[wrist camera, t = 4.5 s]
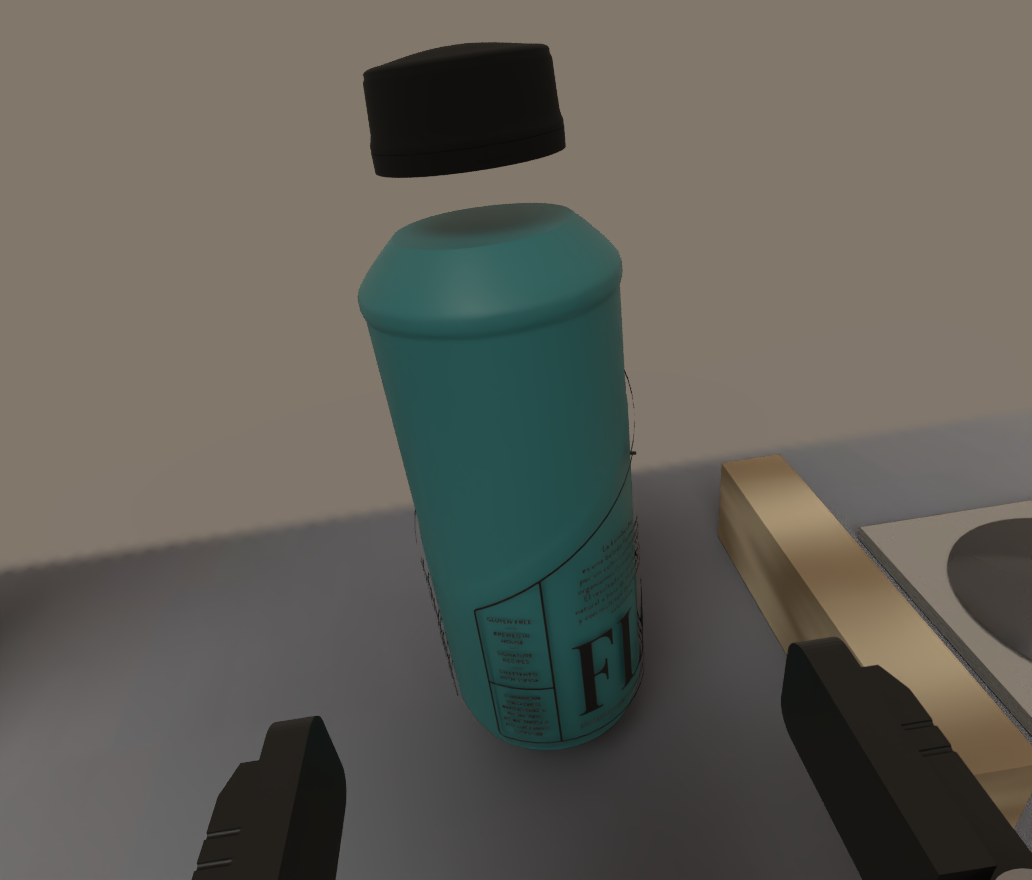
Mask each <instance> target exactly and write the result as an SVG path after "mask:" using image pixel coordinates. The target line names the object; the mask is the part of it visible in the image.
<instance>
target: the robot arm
mask: <svg viewBox="0 0 1032 880" xmlns="http://www.w3.org/2000/svg"><path fill="white" fill-rule="evenodd" d="M781 708H782V714H783V718H784V722H785V725H786V728H787V731H788V733H789V736H790V738H791V740H792V742H793V744H794V746H795V748H796V750H797V752H798V754H799V756H800V758H801V760H802V762H803V764H804V766H805V768H806V770H807V772H808V773H809V775H810V777H811V779H812V781H813V783H814V785H815V787H816V789H817V791H818V793H819V795H820V797H821V799H822V801H823V803H824V805H825V807H826V809H827V811H828V813H829V815H830V817H831V819H832V821H833V823H834V825H835V827H836V829H837V831H838V833H839V834H840V836H841V838H842V840H843V842H844V844H845V846H846V848H847V850H848V852H849V854H850V856H851V858H852V860H853V862H854V864H855V866H856V868H857V870H858V872H859V874H860V876H861V878H862V880H1032V853H1031V851H1030V850H1029V849H1028V848H1027V846H1026V845H1025V844H1024V842H1023V841H1022V840H1021V838H1020V837H1019V836H1018V834H1017V833H1016V831H1015V830H1014V829H1013V827H1012V826H1011V825H1010V823H1009V822H1008V821H1007V819H1006V818H1005V817H1004V815H1003V814H1002V813H1001V811H1000V810H999V809H998V807H997V806H996V804H995V803H994V802H993V800H992V799H991V798H990V796H989V795H988V794H987V792H986V791H985V790H984V788H983V787H982V786H981V784H980V783H979V781H978V780H977V779H976V777H975V776H974V775H973V773H972V772H971V771H970V769H969V768H968V767H967V765H966V764H965V763H964V761H963V760H962V759H961V757H960V756H959V754H958V753H957V752H954V751H953V750H952V747H951V744H950V742H949V741H948V740H947V738H946V737H945V736H944V734H943V733H942V732H941V730H940V729H939V727H938V726H935V725H934V724H933V721H932V720H933V719H932V718H931V717H930V715H929V714H928V713H927V711H926V710H925V709H924V707H923V706H922V704H921V703H920V702H919V700H918V699H917V698H916V696H915V695H914V694H913V692H912V691H911V690H910V689H909V688H908V687H907V686H906V685H904V684H903V683H902V682H900V681H899V680H898V679H896V678H895V677H894V676H893V675H891V674H890V673H889V672H887V671H886V670H885V669H883V668H882V667H881V666H879V665H872V666H866V667H861V666H860V664H859V663H858V662H857V660H856V659H855V657H854V656H853V654H852V653H851V651H850V650H849V648H848V647H847V646H846V644H845V643H844V642H843V641H842V640H841V639H839V638H838V637H827V638H821V639H814V640H808V641H802V642H795V643H791V644H790V645H789V647H788V652H787V660H786V667H785V674H784V681H783V688H782V695H781ZM345 807H346V780H345V773H344V769H343V766H342V764H341V761H340V759H339V757H338V754H337V752H336V750H335V747H334V745H333V743H332V741H331V738H330V736H329V734H328V731H327V729H326V727H325V724H324V722H323V720H322V719H321V717H320V716H312V717H306V718H299V719H293V720H287V721H280V722H275V723H273V724H272V725H271V726H270V727H269V729H268V731H267V734H266V738H265V741H264V745H263V748H262V752H261V756H260V759H259V760H258V761H251V762H245V763H240V765H239V766H238V768H237V769H236V771H235V772H234V774H233V775H232V777H231V778H230V780H229V781H228V782H227V784H226V785H225V787H224V788H223V790H222V791H221V793H220V794H219V796H218V798H217V801H216V804H215V808H214V811H213V814H212V817H211V820H210V823H209V827H208V830H207V839H206V840H204V842H203V845H202V849H201V852H200V855H199V858H198V861H197V870H196V871H194V874H193V877H192V880H335V879H336V872H337V865H338V858H339V851H340V843H341V836H342V829H343V822H344V815H345Z"/></svg>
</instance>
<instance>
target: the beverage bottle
mask: <svg viewBox="0 0 1032 880" xmlns="http://www.w3.org/2000/svg"><path fill="white" fill-rule="evenodd" d="M363 76H364V82H363V87H364V93H365V100H366V107H367V113H368V120H369V127H370V134H371V143H370V148H371V155H372V159H373V164H374V168H375V173H376V175H378V176H382V177H392V178H408V177H409V178H411V177H428V176H438V175H449V174H457V173H465V172H472V171H479V170H485V169H491V168H497V167H502V166H507V165H513V164H517V163H522V162H527V161H531V160H535V159H539V158H542V157H545V156H549V155H552V154H554V153H557V152H559V151H561V150H563V149H564V148H565V132H564V123H563V117H562V115H561V112H560V109H559V103H558V96H557V90H556V82H555V75H554V68H553V61H552V56H551V55H550V52H549V47H548V46H547V45H544V44H522V43H497V42H493V43H490V42H489V43H465V44H458V45H451V46H445V47H440V48H435V49H430V50H426V51H423V52H419V53H416V54H412V55H409V56H406V57H403V58H401V59H398V60H395V61H392V62H389V63H386V64H384V65H381V66H377V67H374V68H371V69H369V70H367V71H366V72H364V74H363ZM621 277H622V261H621V258H620V255H619V252H618V250H617V249H616V248H615V247H614V245H613V244H612V243H611V242H610V241H609V240H608V239H607V238H606V237H605V236H604V235H602V234H601V233H600V232H599V231H598V230H597V229H595V228H594V227H593V226H592V225H591V224H589V223H588V222H587V221H586V220H585V219H583V218H582V217H581V216H579V215H578V214H576V213H575V212H573V211H572V210H571V209H569V208H567V207H564V206H560V205H555V204H545V203H517V204H502V205H492V206H483V207H475V208H469V209H463V210H457V211H452V212H448V213H443V214H439V215H435V216H431V217H428V218H425V219H422V220H419V221H416V222H414V223H411V224H409V225H407V226H405V227H403V228H401V229H400V230H398V231H397V232H396V233H395V234H394V235H393V236H392V238H391V239H390V240H389V242H388V243H387V244H386V246H385V247H384V249H383V250H382V252H381V253H380V254H379V256H378V258H377V259H376V260H375V262H374V263H373V265H372V266H371V268H370V269H369V271H368V272H367V274H366V276H365V278H364V280H363V282H362V284H361V286H360V288H359V292H358V303H359V307H360V311H361V313H362V315H363V317H364V318H365V320H366V322H367V325H368V329H369V333H370V337H371V341H372V345H373V348H374V352H375V356H376V360H377V364H378V368H379V372H380V375H381V379H382V383H383V387H384V391H385V395H386V398H387V402H388V406H389V410H390V414H391V417H392V421H393V425H394V429H395V433H396V436H397V441H398V444H399V448H400V452H401V456H402V460H403V463H404V467H405V471H406V475H407V479H408V483H409V486H410V490H411V494H412V498H413V502H414V506H415V513H417V517H418V521H419V527H420V534H421V539H422V544H423V548H424V552H425V556H426V560H427V563H428V567H429V571H430V575H431V579H432V583H433V587H434V591H435V594H436V598H437V602H438V606H439V611H440V614H441V618H440V621H441V620H442V622H443V625H444V629H445V633H446V637H447V644H448V645H449V649H450V652H451V656H452V663H453V664H454V668H455V672H456V676H457V680H458V683H459V687H460V691H461V693H462V696H463V699H464V701H465V703H466V705H467V706H468V708H469V710H470V711H471V712H472V713H473V715H474V716H475V717H476V718H477V719H478V721H479V722H480V723H481V724H482V725H483V726H484V727H485V728H486V729H487V730H488V731H489V732H491V733H492V734H494V735H495V736H496V737H498V738H500V739H502V740H504V741H506V742H508V743H511V744H513V745H516V746H519V747H523V748H528V749H535V750H557V749H565V748H569V747H574V746H577V745H580V744H583V743H586V742H588V741H590V740H592V739H594V738H596V737H598V736H600V735H601V734H603V733H604V732H606V731H607V730H608V729H610V728H611V727H612V726H613V725H614V724H615V723H616V722H617V721H618V720H619V719H620V718H621V716H622V715H623V714H624V712H625V710H626V709H627V707H628V706H629V704H630V703H631V701H632V700H633V698H634V697H635V695H636V693H637V691H638V689H639V687H638V689H637V691H636V693H635V695H634V696H633V694H634V691H635V689H636V685H637V682H638V677H640V675H641V670H640V674H639V669H640V660H641V657H642V654H641V651H640V653H639V640H638V634H639V633H638V626H639V624H638V618H637V614H638V612H637V596H636V573H635V564H636V559H635V556H636V557H638V556H639V555H638V556H637V554H638V553H637V554H636V551H637V550H636V551H635V549H634V548H635V547H634V542H635V544H636V542H637V541H636V539H635V541H634V529H633V527H635V525H636V524H635V523H636V522H637V521H635V523H634V526H633V507H632V485H631V461H630V455H635V454H636V452H632V450H631V452H630V441H629V420H628V403H627V395H626V386H625V374H626V372H625V370H624V355H623V338H622V337H623V335H622V318H621V299H620V282H621ZM626 377H627V375H626ZM627 379H628V377H627ZM628 381H629V380H628ZM629 386H630V385H629ZM630 390H631V388H630ZM631 393H632V391H631ZM632 446H633V444H632ZM631 449H632V448H631ZM631 459H632V457H631ZM636 519H637V518H636ZM637 528H638V524H637ZM636 532H637V529H636ZM415 534H416V532H415ZM637 534H638V533H637ZM636 538H637V540H638V535H637V536H636ZM416 542H417V540H416ZM638 545H639V542H638ZM639 549H640V547H639ZM639 549H638V550H639ZM421 558H422V557H421ZM637 559H638V558H637ZM421 560H422V559H421ZM639 560H640V556H639ZM423 561H424V560H423ZM421 562H422V561H421ZM423 563H424V562H423ZM422 565H424V564H422ZM638 566H639V563H638V565H637V567H638ZM423 568H424V566H423ZM637 569H638V568H636V572H637ZM423 570H425V569H423ZM425 573H426V572H425ZM428 575H429V572H428ZM427 578H428V583H429V576H428V577H427V576H426V581H427ZM640 582H641V580H640ZM429 586H430V583H429ZM429 586H428V587H429ZM430 590H432V589H431V587H430ZM429 593H430V592H429ZM431 594H432V591H431ZM430 597H431V598H432V597H433V595H432V596H430ZM431 600H432V599H431ZM434 600H435V599H433V601H434ZM432 604H433V603H432ZM434 609H436V607H435V603H434ZM434 611H435V610H434ZM436 613H437V611H436ZM437 617H438V626H439V625H440V623H441V622H439V613H438V614H437ZM638 617H639V615H638ZM639 619H640V622H641V625H642V630H643V615H642V588H641V617H640V618H639ZM436 620H437V619H436ZM639 627H640V626H639ZM440 629H441V625H440ZM440 629H439V630H440ZM639 630H640V632H641V629H639ZM442 631H443V629H442V630H441V631H440V633H441V632H442ZM442 633H443V634H442V636H443V635H444V631H443V632H442ZM440 635H441V634H440ZM641 635H642V641H641V642H642V653H643V651H644V650H643V645H644V644H643V642H644V641H643V632H641ZM639 637H640V636H639ZM441 638H442V637H441ZM442 640H443V645H445V642H444V640H445V639H444V638H442ZM640 640H641V638H640ZM445 648H446V646H445V647H444V649H445ZM446 652H447V649H446ZM445 654H446V653H445ZM447 656H448V653H447ZM447 656H446V657H447ZM449 656H450V655H449ZM449 658H450V657H448V659H449ZM643 658H644V656H643ZM449 660H450V659H449ZM449 664H450V661H449ZM449 664H448V665H449ZM449 667H451V665H449ZM642 667H643V663H642ZM451 671H452V669H451ZM643 672H644V670H643ZM451 674H452V675H453V673H451ZM642 677H643V675H642ZM453 679H454V677H453ZM641 680H642V679H641ZM454 683H455V681H454ZM454 683H453V684H454ZM640 684H641V682H640ZM639 686H640V685H639ZM455 687H456V685H455ZM456 690H457V689H456ZM456 693H457V692H456ZM457 695H458V693H457ZM632 697H633V698H632ZM631 699H632V700H631Z"/></svg>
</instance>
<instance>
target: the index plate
mask: <svg viewBox="0 0 1032 880" xmlns="http://www.w3.org/2000/svg"><path fill="white" fill-rule="evenodd" d="M858 538H859V540H860V541H861V542H862V543H863V544H864V545H865V546H866V547H867V549H868V550H869V551H870V552H871V553H872V554H873V555H874V557H875V558H876V559H877V560H878V561H879V562H880V563H881V565H882V566H883V567H884V568H885V569H886V570H887V571H888V573H889V574H890V575H891V576H892V577H893V578H894V579H895V581H896V582H897V583H898V584H899V585H900V586H901V587H902V589H903V590H904V591H905V592H906V593H907V594H908V595H909V597H910V598H911V599H912V600H913V601H914V602H915V603H916V605H917V606H918V607H919V608H920V609H921V610H922V611H923V613H924V614H925V615H926V616H927V617H928V618H929V619H930V621H931V622H932V623H933V624H934V625H935V626H936V627H937V628H938V630H939V631H940V632H941V633H942V634H943V635H944V636H945V638H946V639H947V640H948V641H949V642H950V643H951V644H952V646H953V647H954V648H955V649H956V650H957V651H958V652H959V654H960V655H961V656H962V657H963V658H964V659H965V660H966V662H967V663H968V664H969V665H970V666H971V667H972V668H973V670H974V671H975V672H976V673H977V674H978V675H979V676H980V678H981V679H982V680H983V681H984V682H985V683H986V684H987V686H988V687H989V688H990V689H991V690H992V691H993V692H994V694H995V695H996V696H997V697H998V698H999V699H1000V700H1001V702H1002V703H1003V704H1004V705H1005V706H1006V707H1007V708H1008V709H1009V711H1010V712H1011V713H1012V714H1013V715H1014V716H1015V717H1016V719H1017V720H1018V721H1019V722H1020V723H1021V724H1022V725H1023V727H1024V728H1025V729H1026V730H1027V731H1028V732H1029V733H1030V735H1031V736H1032V500H1030V501H1024V502H1018V503H1011V504H1005V505H999V506H992V507H986V508H980V509H973V510H967V511H961V512H954V513H948V514H942V515H935V516H929V517H922V518H916V519H910V520H903V521H897V522H891V523H884V524H878V525H872V526H865V527H860V532H859V537H858Z"/></svg>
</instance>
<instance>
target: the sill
mask: <svg viewBox="0 0 1032 880" xmlns="http://www.w3.org/2000/svg"><path fill="white" fill-rule="evenodd" d="M718 537H719V539H720V541H721V542H722V544H723V546H724V547H725V549H726V551H727V553H728V554H729V556H730V558H731V560H732V561H733V563H734V565H735V566H736V568H737V570H738V572H739V573H740V575H741V577H742V579H743V580H744V582H745V584H746V585H747V587H748V589H749V591H750V592H751V594H752V596H753V597H754V599H755V601H756V603H757V604H758V606H759V608H760V610H761V611H762V613H763V615H764V616H765V618H766V620H767V622H768V623H769V625H770V627H771V629H772V630H773V632H774V634H775V635H776V637H777V639H778V641H779V642H780V644H781V646H782V648H783V649H784V651H785V653H786V654H787V652H788V647H789V645H790V644H791V643H795V642H802V641H808V640H814V639H821V638H827V637H838V638H839V639H841V640H842V641H843V642H844V643H845V644H846V646H847V647H848V648H849V650H850V651H851V653H852V654H853V656H854V657H855V659H856V660H857V662H858V663H859V664H860V666H861V667H866V666H872V665H879V666H881V667H882V668H883V669H885V670H886V671H887V672H889V673H890V674H891V675H893V676H894V677H895V678H896V679H898V680H899V681H900V682H902V683H903V684H904V685H906V686H907V687H908V688H909V689H910V690H911V691H912V692H913V694H914V695H915V696H916V698H917V699H918V700H919V702H920V703H921V704H922V706H923V707H924V709H925V710H926V711H927V713H928V714H929V715H930V717H931V718H932V719H933V720H932V721H933V724H934V725H935V726H938V727H939V729H940V730H941V732H942V733H943V734H944V736H945V737H946V738H947V740H948V741H949V742H950V744H951V747H952V750H953V751H954V752H957V753H958V754H959V756H960V757H961V759H962V760H963V761H964V763H965V764H966V765H967V767H968V768H969V769H970V771H971V772H972V773H973V775H974V776H975V777H976V779H977V780H978V781H979V783H980V784H981V786H982V787H983V788H984V790H985V791H986V792H987V794H988V795H989V796H990V798H991V799H992V800H993V802H994V803H995V804H996V806H997V807H998V809H999V810H1000V811H1001V813H1002V814H1003V815H1004V817H1005V818H1006V819H1007V821H1008V822H1009V823H1010V825H1011V826H1012V827H1013V829H1014V828H1015V826H1016V824H1017V822H1018V820H1019V818H1020V816H1021V814H1022V812H1023V810H1024V808H1025V806H1026V804H1027V802H1028V800H1029V798H1030V796H1031V794H1032V745H1031V744H1030V743H1029V741H1028V740H1027V739H1026V738H1025V737H1024V736H1023V734H1022V733H1021V732H1020V731H1019V730H1018V729H1017V727H1016V726H1015V725H1014V724H1013V723H1012V722H1011V721H1010V719H1009V718H1008V717H1007V716H1006V715H1005V714H1004V712H1003V711H1002V710H1001V709H1000V708H999V707H998V706H997V704H996V703H995V702H994V701H993V700H992V699H991V697H990V696H989V695H988V694H987V693H986V692H985V690H984V689H983V688H982V687H981V686H980V685H979V684H978V682H977V681H976V680H975V679H974V678H973V677H972V675H971V674H970V673H969V672H968V671H967V670H966V669H965V667H964V666H963V665H962V664H961V663H960V662H959V660H958V659H957V658H956V657H955V656H954V655H953V653H952V652H951V651H950V650H949V649H948V648H947V647H946V645H945V644H944V643H943V642H942V641H941V640H940V638H939V637H938V636H937V635H936V634H935V633H934V632H933V630H932V629H931V628H930V627H929V626H928V625H927V623H926V622H925V621H924V620H923V619H922V618H921V616H920V615H919V614H918V613H917V612H916V611H915V610H914V608H913V607H912V606H911V605H910V604H909V603H908V601H907V600H906V599H905V598H904V597H903V596H902V595H901V593H900V592H899V591H898V590H897V589H896V588H895V586H894V585H893V584H892V583H891V582H890V581H889V579H888V578H887V577H886V576H885V575H884V574H883V573H882V571H881V570H880V569H879V568H878V567H877V566H876V564H875V563H874V562H873V561H872V560H871V559H870V558H869V556H868V555H867V554H866V553H865V552H864V551H863V549H862V548H861V547H860V546H859V545H858V544H857V542H856V541H855V540H854V539H853V538H852V537H851V536H850V534H849V533H848V532H847V531H846V530H845V529H844V527H843V526H842V525H841V524H840V523H839V522H838V520H837V519H836V518H835V517H834V516H833V515H832V514H831V512H830V511H829V510H828V509H827V508H826V507H825V505H824V504H823V503H822V502H821V501H820V500H819V499H818V497H817V496H816V495H815V494H814V493H813V492H812V490H811V489H810V488H809V487H808V486H807V485H806V483H805V482H804V481H803V480H802V479H801V478H800V477H799V475H798V474H797V473H796V472H795V471H794V470H793V468H792V467H791V466H790V465H789V464H788V463H787V462H786V460H785V459H784V458H783V457H782V456H781V455H780V454H776V455H769V456H763V457H756V458H750V459H744V460H737V461H731V462H724V463H722V468H721V489H720V509H719V529H718Z"/></svg>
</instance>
